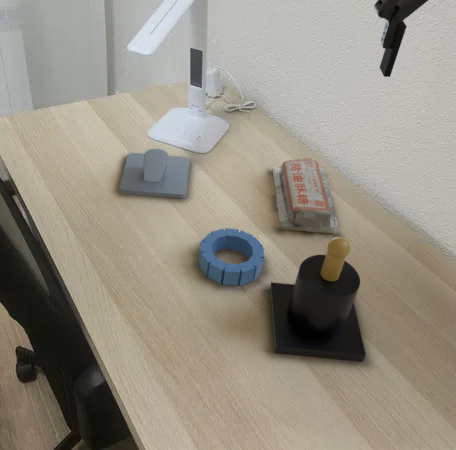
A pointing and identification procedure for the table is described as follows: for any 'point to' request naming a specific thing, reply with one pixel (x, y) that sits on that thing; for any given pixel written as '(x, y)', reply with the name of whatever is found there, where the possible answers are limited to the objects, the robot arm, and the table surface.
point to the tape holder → (319, 308)
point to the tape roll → (227, 271)
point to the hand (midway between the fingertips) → (438, 76)
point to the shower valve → (155, 174)
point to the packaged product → (304, 197)
